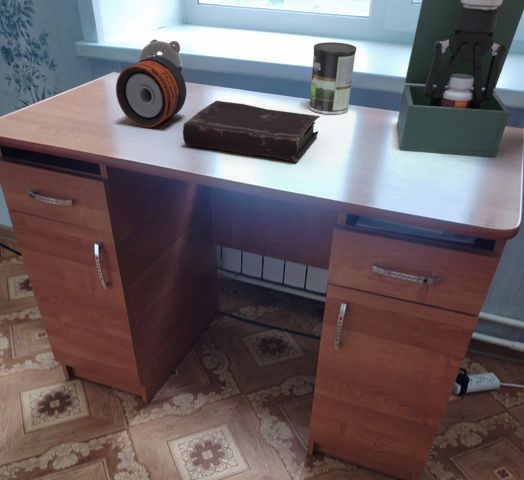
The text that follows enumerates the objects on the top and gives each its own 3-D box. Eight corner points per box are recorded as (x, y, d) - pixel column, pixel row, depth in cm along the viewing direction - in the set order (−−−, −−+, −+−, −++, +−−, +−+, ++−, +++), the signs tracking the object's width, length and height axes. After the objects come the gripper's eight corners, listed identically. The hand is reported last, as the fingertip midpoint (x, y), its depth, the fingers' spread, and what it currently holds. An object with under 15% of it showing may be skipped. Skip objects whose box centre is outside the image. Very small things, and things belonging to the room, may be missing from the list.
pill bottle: (449, 140, 107) (464, 81, 100) (426, 132, 111) (439, 75, 104) (467, 135, 110) (483, 78, 103) (445, 127, 114) (459, 71, 106)
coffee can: (312, 115, 126) (317, 50, 117) (306, 102, 134) (310, 41, 125) (352, 114, 127) (360, 51, 118) (344, 102, 135) (351, 42, 126)
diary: (295, 164, 102) (297, 139, 98) (183, 147, 108) (181, 123, 104) (318, 135, 115) (321, 112, 112) (217, 121, 121) (217, 99, 118)
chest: (495, 157, 107) (509, 112, 101) (399, 150, 109) (408, 105, 103) (482, 131, 120) (494, 90, 114) (396, 125, 122) (404, 84, 116)
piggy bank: (191, 83, 146) (188, 38, 138) (171, 97, 135) (167, 48, 128) (155, 80, 148) (151, 35, 140) (133, 93, 137) (126, 45, 130)
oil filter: (120, 124, 118) (110, 62, 109) (145, 110, 127) (138, 51, 118) (170, 131, 115) (164, 67, 106) (192, 116, 124) (188, 56, 115)
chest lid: (528, -2, 99) (523, -17, 103) (424, -7, 101) (423, -21, 105) (495, 88, 113) (492, 72, 117) (404, 83, 115) (404, 67, 119)
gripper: (527, 6, 97) (489, 130, 112) (426, 1, 99) (402, 124, 114) (537, 12, 91) (495, 141, 107) (429, 6, 93) (403, 135, 109)
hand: (447, 132), depth 110 cm, fingers closed on pill bottle, 6 cm apart
